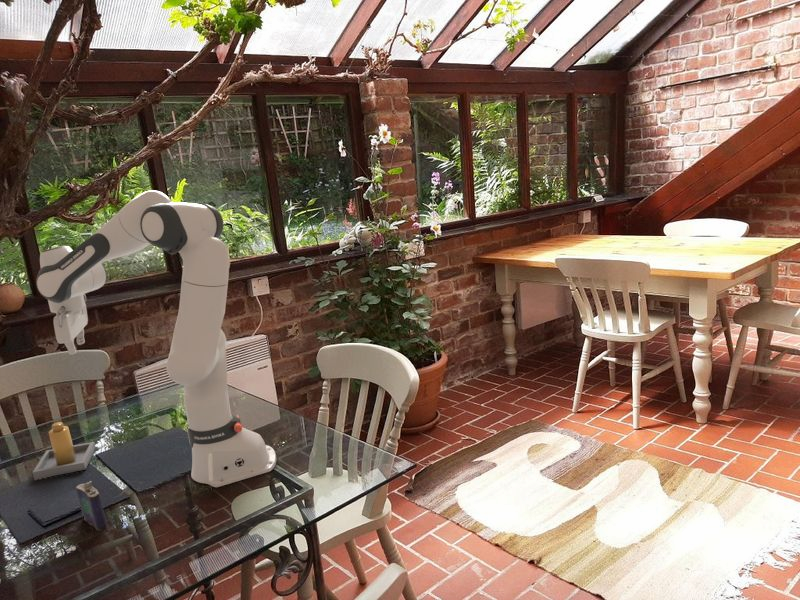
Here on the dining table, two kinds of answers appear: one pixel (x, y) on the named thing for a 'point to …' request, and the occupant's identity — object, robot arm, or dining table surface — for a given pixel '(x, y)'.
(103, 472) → the dining table surface
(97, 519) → the flask
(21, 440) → the dining table surface
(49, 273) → the robot arm
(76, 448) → the gray tray
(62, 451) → the amber bottle
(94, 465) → the dining table surface
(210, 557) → the dining table surface
